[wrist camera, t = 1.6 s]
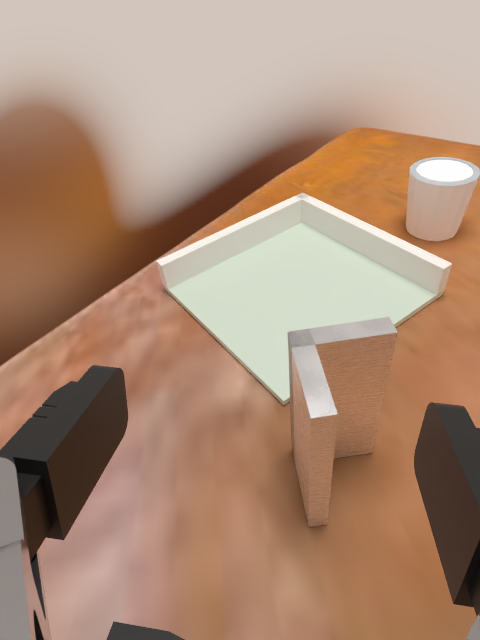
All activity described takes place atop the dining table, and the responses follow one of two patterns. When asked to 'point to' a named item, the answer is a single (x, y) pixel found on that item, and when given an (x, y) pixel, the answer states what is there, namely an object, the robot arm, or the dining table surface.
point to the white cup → (439, 196)
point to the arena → (297, 281)
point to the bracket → (335, 400)
